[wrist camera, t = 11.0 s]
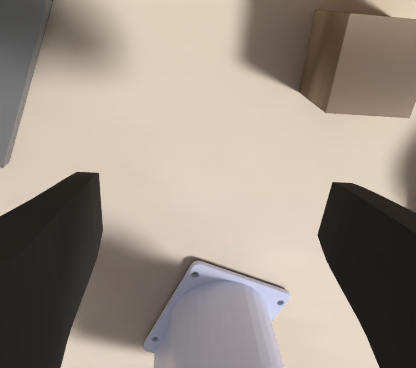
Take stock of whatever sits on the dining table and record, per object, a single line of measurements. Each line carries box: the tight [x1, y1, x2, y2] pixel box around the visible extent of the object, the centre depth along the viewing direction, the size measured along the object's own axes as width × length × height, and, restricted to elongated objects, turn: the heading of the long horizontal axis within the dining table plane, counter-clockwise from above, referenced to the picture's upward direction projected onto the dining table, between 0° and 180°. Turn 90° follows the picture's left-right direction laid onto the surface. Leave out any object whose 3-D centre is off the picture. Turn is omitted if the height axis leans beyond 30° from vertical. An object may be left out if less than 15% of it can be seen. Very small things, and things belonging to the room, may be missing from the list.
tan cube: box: [299, 10, 416, 118], centre depth 16 cm, size 4×4×4 cm
